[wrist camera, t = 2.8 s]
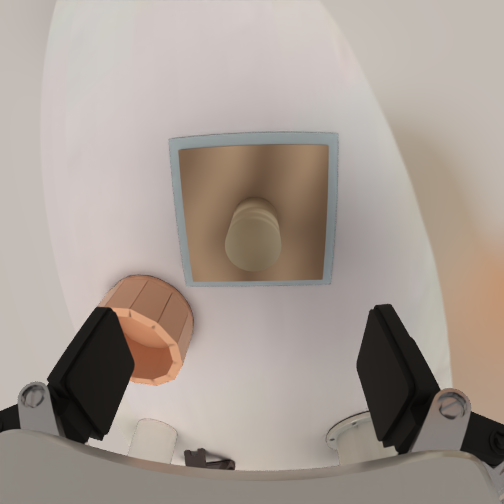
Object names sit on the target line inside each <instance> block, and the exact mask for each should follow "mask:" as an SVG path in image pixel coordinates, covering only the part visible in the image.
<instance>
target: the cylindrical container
mask: <svg viewBox="0 0 504 504" xmlns="http://www.w3.org/2000/svg"><path fill="white" fill-rule="evenodd" d="M176 439H177V432H176V431H175V430H174V429H173V428H172V427H171V426H169V425H167V424H165V423H163V422H160V421H157V420H152V419H142V420H140V421H139V422H138V425H137V428H136V431H135V434H134V436H133V439H132V442H131V445H130V449H129V452H128V455H127V456H130V457H134V458H139V459H144V460H149V461H155V462H160V463H166V464H171V460H172V456H173V452H174V447H175V443H176Z"/></svg>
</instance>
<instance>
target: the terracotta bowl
mask: <svg viewBox="0 0 504 504" xmlns="http://www.w3.org/2000/svg"><path fill="white" fill-rule="evenodd" d="M97 307H110V308H112V309H113V311H114V312H116V314H117V316H118V319H119V322H120V325H121V328H122V330H123V333H124V336H125V338H126V341H127V344H128V346H129V349H130V351H131V354H132V357H133V359H134V362H135V368H134V371H133V373H132V376H131V378H130V381H132V382H134V383H141V384H148V385H160V384H163V383H166V382H169V381H172V380H174V379H175V378H176V376H177V374H178V372H179V371H180V369H181V367H182V365H183V363H184V359H185V356H186V353H187V349H188V346H189V343H190V339H191V336H192V333H193V330H192V328H193V315H192V311H191V309H190V306H189V304H188V303H187V301H186V300H185V298H184V297H183V296H182V295H181V294H180V292H178V291H177V290H176V289H175V288H174V287H172V286H171V285H170V284H168V283H166V282H164V281H162V280H160V279H158V278H155V277H152V276H146V275H134V276H129V277H126V278H124V279H122V280H121V281H120V282H118V283H117V284H116V286H115V287H114V288H112V289H111V290H110V291H109V292H108V293H107V294H106V296H105V297H104V298H103V299H102V301H101V302H100V303H99V304H98V306H97Z"/></svg>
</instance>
